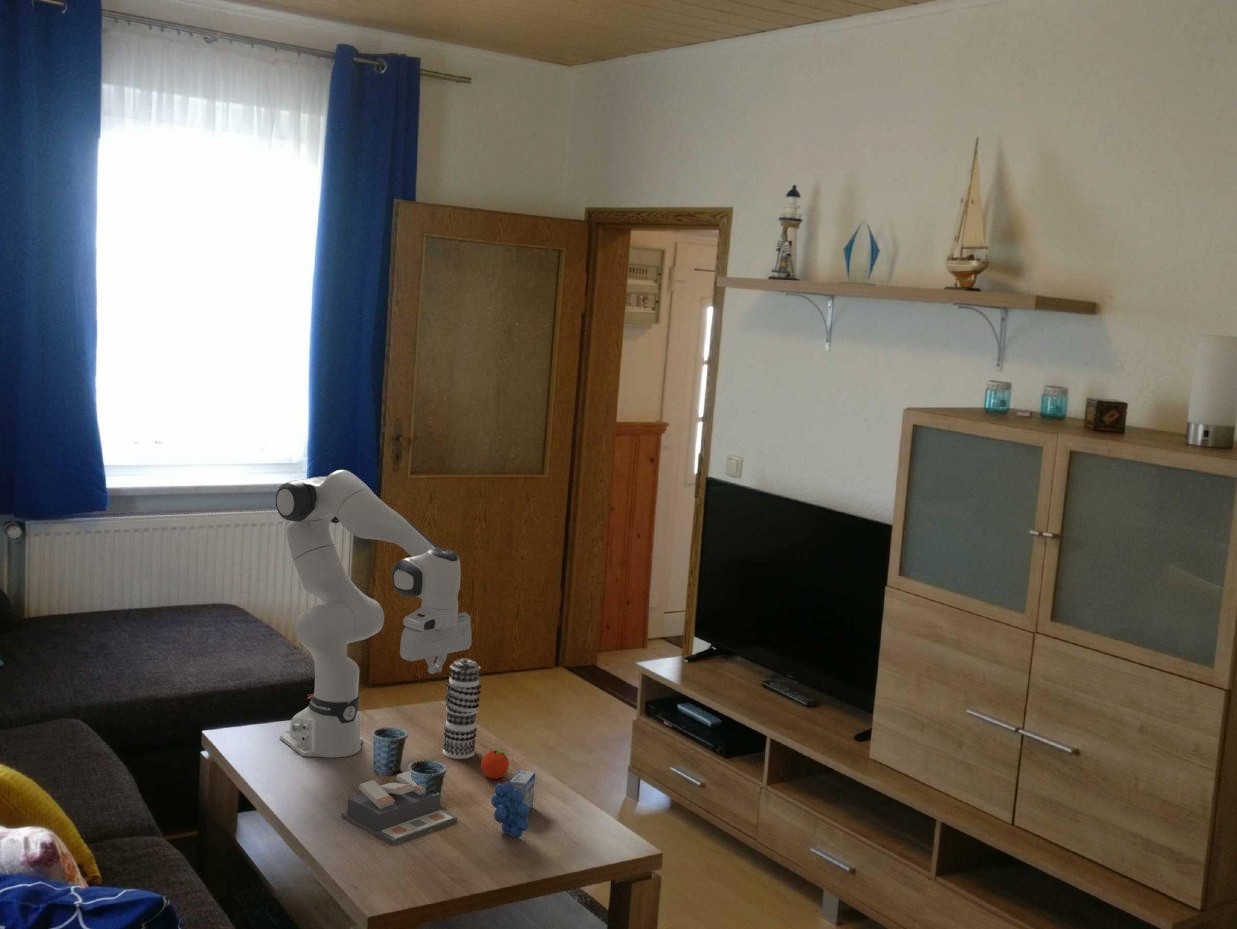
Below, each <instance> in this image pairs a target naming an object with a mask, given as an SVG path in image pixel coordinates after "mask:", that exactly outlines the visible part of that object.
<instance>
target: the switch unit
mask: <svg viewBox="0 0 1237 929" xmlns="http://www.w3.org/2000/svg"><path fill="white" fill-rule="evenodd" d="M397 783H399V784H402V783H401V782H399V781H398V782H397ZM436 792H437V793H436V794H432V795H421V794H419V795H418V794H417V793H415V792H414V791H410V792H407V793H404V794H392V793H387V794H388V795H390V796H391V797H392V798H393V799H394V800H395V801H394V804H393V805H391V806H388V807H385V808H382V809H379V808H378V807H377V806H376V805H375V804H374V803H373V802H372V801H371V800H370V799H369V798H368V797H367V796H366V795H365V794H364V793H363V792H362V793H360V794H357V795H353V796H351V797H348V798H347V811H344V812H342V813H340V818H341V819H343V820H344V821H346V822H348V823H349V824H352V825H353V826H356V827H358V828H360V829H361V830H363V831H365V830H366V831H365V832H367V833H369V834H371V835H373V836H375V837H376V838H379V839H381V840H382V839H383V840H382V841H384V842H387V843H388V842H389V843H388V844H390V845H392V846H394V845H397V844H400V843H402V842H401V841H403V842H405V841H407V839H408V840H411V839H413V838H412V837H414V836H416V837H419V836H421V835H420V834H422V833H425V834H427V833H429V832H428V831H430V830H433V829H436V828H438V829H440V828H439V827H441V828H443V827H442V826H444V827H446V826H445V825H447V826H449V825H452V824H454V823H457V822H458V817H457V816H455V815H453V814H451V813H449V812H447V811H445V810H442V809H440V808H441V796H442V793H440V792H438V791H436ZM451 823H452V824H451ZM448 824H449V825H448ZM436 830H437V829H436ZM433 831H434V830H433ZM426 832H427V833H426ZM430 832H431V831H430ZM418 835H419V836H418ZM422 835H423V834H422ZM410 838H411V839H410ZM414 838H415V837H414ZM399 842H400V843H399Z"/></svg>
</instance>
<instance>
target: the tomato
mask: <svg viewBox="0 0 1237 929" xmlns="http://www.w3.org/2000/svg"><path fill="white" fill-rule="evenodd" d="M506 755H508V756H510V754H509V753H508V752H506V751H503V750H497V749H496V750H490V751H489V752H486V754H485V755H484V756H483V758H482V759H481V770H482V773H483V774H484V775H485V776H486V777H488V778H489V779H493V780H495V779H501V778H502V777H505V775H506V773H507V772H508V770H509V767H510V763H509V759H508V756H506ZM511 760H512V761H514V760H513V758H511Z"/></svg>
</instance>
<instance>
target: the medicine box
mask: <svg viewBox="0 0 1237 929" xmlns="http://www.w3.org/2000/svg"><path fill="white" fill-rule="evenodd" d="M509 782H511V783H512V784H513V786H514V789H518V790H520V791H521V792H522V794H523V801H522V802H521V803H524V804H526V805H527V806H528V808H529V812H530V811H531V810H532V808H533V806H534V798H535V797H534V796H535V787H536V786H535V784H536V772H534V771H529V770H521V769H520V770H518V771H517V772H516V773H515V774H514V775H513V777H512V778H511V779H510V780H509Z"/></svg>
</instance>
